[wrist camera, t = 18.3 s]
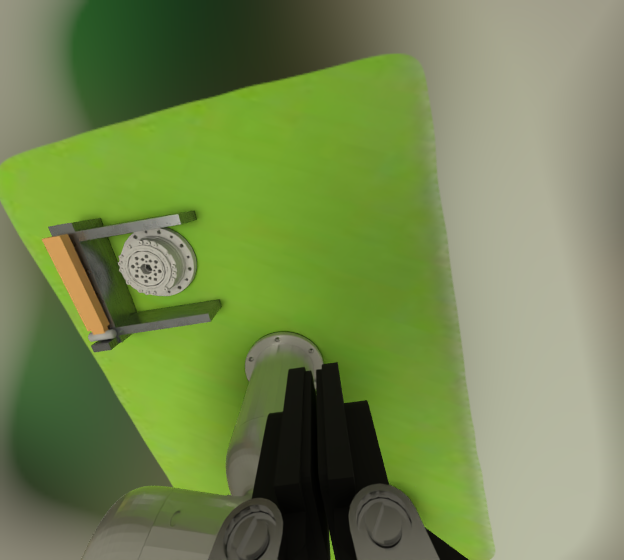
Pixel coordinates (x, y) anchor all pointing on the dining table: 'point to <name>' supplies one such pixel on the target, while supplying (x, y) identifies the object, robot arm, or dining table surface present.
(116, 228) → the bracket
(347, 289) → the dining table surface
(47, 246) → the bar
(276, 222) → the dining table surface
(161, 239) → the mechanical component
